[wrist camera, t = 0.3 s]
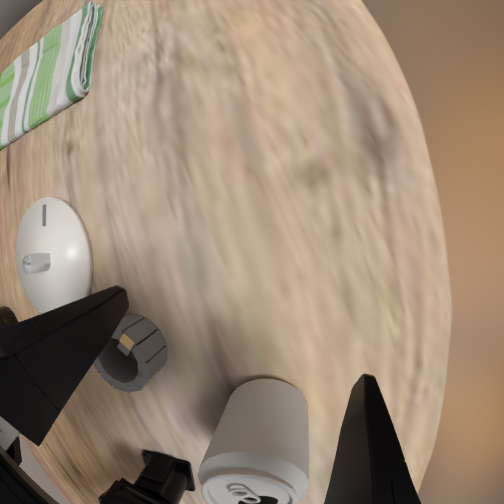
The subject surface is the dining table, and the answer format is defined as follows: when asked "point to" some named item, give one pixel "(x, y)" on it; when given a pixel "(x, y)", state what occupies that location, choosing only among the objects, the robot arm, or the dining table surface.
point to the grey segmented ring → (143, 348)
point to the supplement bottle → (6, 317)
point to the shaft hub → (53, 254)
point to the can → (259, 447)
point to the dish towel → (49, 75)
